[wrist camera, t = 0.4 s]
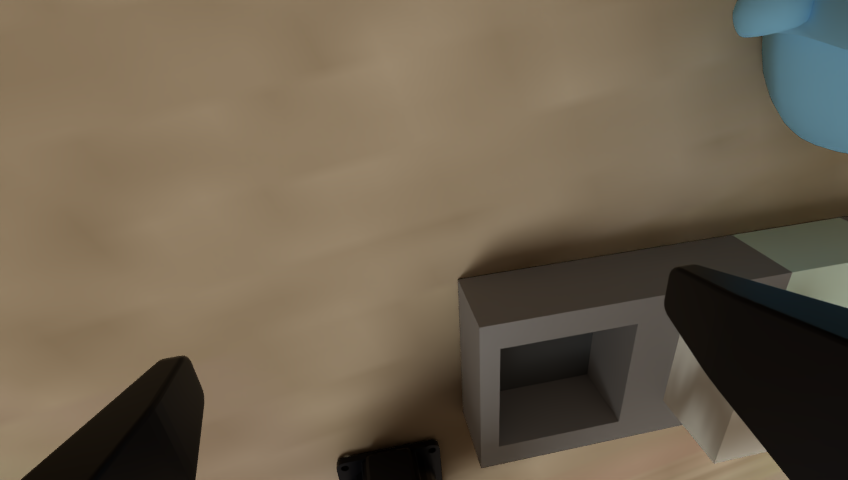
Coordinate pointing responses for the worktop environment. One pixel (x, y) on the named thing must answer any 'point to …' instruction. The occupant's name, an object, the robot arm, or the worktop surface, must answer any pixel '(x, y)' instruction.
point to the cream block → (706, 411)
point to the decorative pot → (803, 63)
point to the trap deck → (607, 335)
